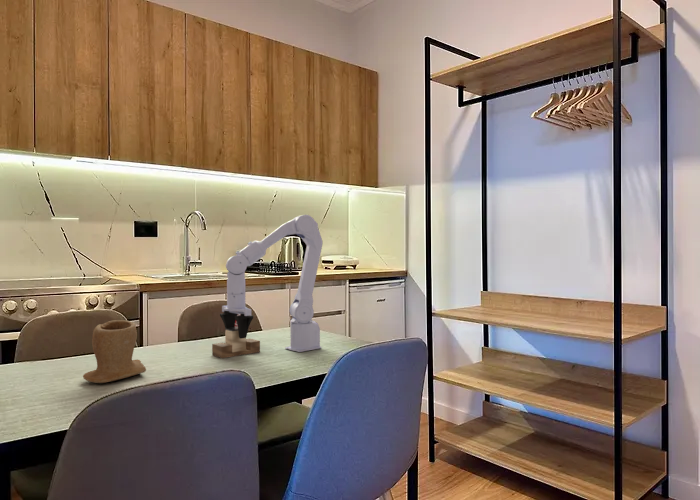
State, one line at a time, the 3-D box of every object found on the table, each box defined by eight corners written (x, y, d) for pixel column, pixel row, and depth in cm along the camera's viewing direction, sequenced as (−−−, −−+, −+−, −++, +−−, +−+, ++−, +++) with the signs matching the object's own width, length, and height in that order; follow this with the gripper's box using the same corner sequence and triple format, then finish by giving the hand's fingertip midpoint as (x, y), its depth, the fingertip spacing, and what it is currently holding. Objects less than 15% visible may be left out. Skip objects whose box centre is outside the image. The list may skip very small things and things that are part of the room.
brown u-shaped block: (249, 349, 167) (249, 338, 167) (259, 351, 163) (259, 340, 163) (212, 355, 158) (212, 344, 158) (222, 358, 154) (221, 346, 154)
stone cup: (103, 389, 121) (102, 326, 120) (76, 382, 127) (76, 322, 127) (158, 376, 133) (158, 319, 133) (132, 369, 140) (131, 315, 140)
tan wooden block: (239, 348, 164) (239, 326, 164) (245, 350, 161) (245, 328, 161) (225, 350, 160) (225, 328, 160) (232, 352, 157) (232, 330, 157)
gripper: (213, 292, 163) (213, 335, 163) (237, 296, 152) (237, 341, 153) (232, 291, 168) (233, 332, 168) (257, 294, 157) (257, 338, 157)
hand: (236, 336), depth 161 cm, fingers open, 7 cm apart
